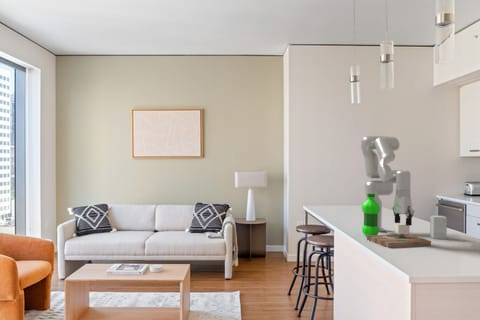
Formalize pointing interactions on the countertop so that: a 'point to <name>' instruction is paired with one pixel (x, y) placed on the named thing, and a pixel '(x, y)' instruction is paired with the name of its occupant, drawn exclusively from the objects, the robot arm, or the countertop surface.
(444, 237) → the supplement box
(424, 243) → the tuner board
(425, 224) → the countertop surface
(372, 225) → the plastic bottle
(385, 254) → the countertop surface
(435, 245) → the countertop surface
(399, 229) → the white piece
